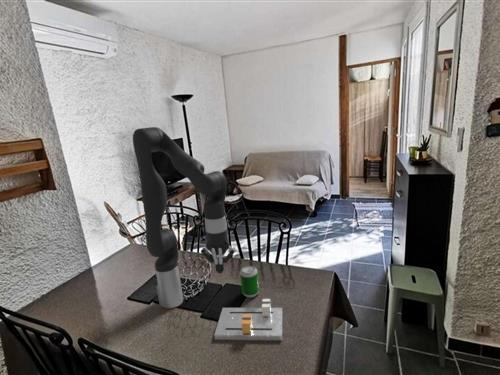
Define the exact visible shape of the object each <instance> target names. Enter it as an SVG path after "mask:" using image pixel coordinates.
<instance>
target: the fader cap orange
mask: <svg viewBox="0 0 500 375" xmlns="http://www.w3.org/2000/svg"><path fill="white" fill-rule="evenodd" d="M251 330H252V314H243V317H242V333H251Z"/></svg>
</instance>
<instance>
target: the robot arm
mask: <svg viewBox="0 0 500 375" xmlns="http://www.w3.org/2000/svg"><path fill="white" fill-rule="evenodd" d="M132 145H133V149H134V155H135V158H136V162H137V163H136V164H137V167H138V172H139V178H140V180H139V181H140V188H141V196H142V203H143V209H144V210H143V211H144V219H145V242H146V243H145V244H146V248H147V251H148V253H149V254H150V255H151V256H152V257H154V258H157V259H156V260H155V263H154V269H155V275H156V281H157V285H156V293H157V296H158V303H159V306H160V307H163V308H164V309H173V308H177V307H179V306H180V305H181V304H183V302H184V296H183V290H182V282H181V276H180V270H179V266H178V265H179V264H178V260H179V251H178V250H179V249H178V241H177V237H176V235H175V233H174V231H173V230H171V229H169V228H163V229H162V221H163V218H164V215H165V211H166V209H167V205H168V192H167V185H166V183H165V181H164V180H163V178H162V176H161V175H160V174H159V173H158V172H157V170H156V169H155V166H154V164H153V160H152V153H157V152H161V153H163V154H166V155H167V157H169V159H170V161H171V164H172V165H173V167H174V169H175V170H176V171H177V172H178V173H180V174H181V175H183V176H184V177H185V178H187V179H188V180H189V181H190V183H191V185H192V186H193V187H194V188H195V189H196V191H197V192H198V193H200V194H201V195H204V196H209V197H208V199H207V200H205V201H204V204H203V211H204V226H205V227H204V229H205V236H206V237H205V238H206V243H205V246H203V247H202V248H201V250H200V253H201V255H203V256H204V257H205V259H206V260H208V262H209V263H211V264H212V263H213V264H215V265H214V266H215V271H216V272H217V274H222V273H223V272H224V270H225V264H227V263H228V262H229V260H230V259H231V257H232V256H233V255H234V254H235V252H236V249H237V248H236V247H232V245H231V244H230V242H229V239H228V237H229V234H228V223H227V219H226V209H225V208H226V207H225V201H226V196H227V188H228V183H227V178H226V176H225V174H224V173H223V172H222V171H219V170H214V171H211V172H208V173H204V172H205V166H204V164H202V163H201V162H200V161H199V160H197V159H196V158H195V157H193V156H191V155H190V154H189V153H187V152H186V151H185V150H183V148H181V147H180V146H179V145H178V144H177V143H176V142H175V141H174V140H173V139H172V138H171V137H170V136H169V135H168V134H167V133H166V131H164V130H163V129H162V128H160V127H156V126H155V127H154V126H153V127H142V128H137V129H135V130H134V132H133V134H132ZM227 252H228V254H227V255H226V256H225V254H226V253H227Z"/></svg>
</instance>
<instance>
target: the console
mask: <svg viewBox="0 0 500 375" xmlns="http://www.w3.org/2000/svg"><path fill="white" fill-rule="evenodd" d="M243 314H252V330H251V333H242V317H243ZM213 335H214V340H218V341H219V340H222V341H223V340H226V341H229V340H230V341H231V340H232V341H283V307H271V315H270V316H262V307H222V310H221V312H220V315H219V318H218V322H217V324H216V328H215V332H214V334H213Z"/></svg>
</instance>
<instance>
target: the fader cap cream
mask: <svg viewBox="0 0 500 375" xmlns="http://www.w3.org/2000/svg"><path fill="white" fill-rule="evenodd" d="M271 302H272V301H271V298H262V301H261V308H262V316H270V315H271V308H272V304H271Z"/></svg>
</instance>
